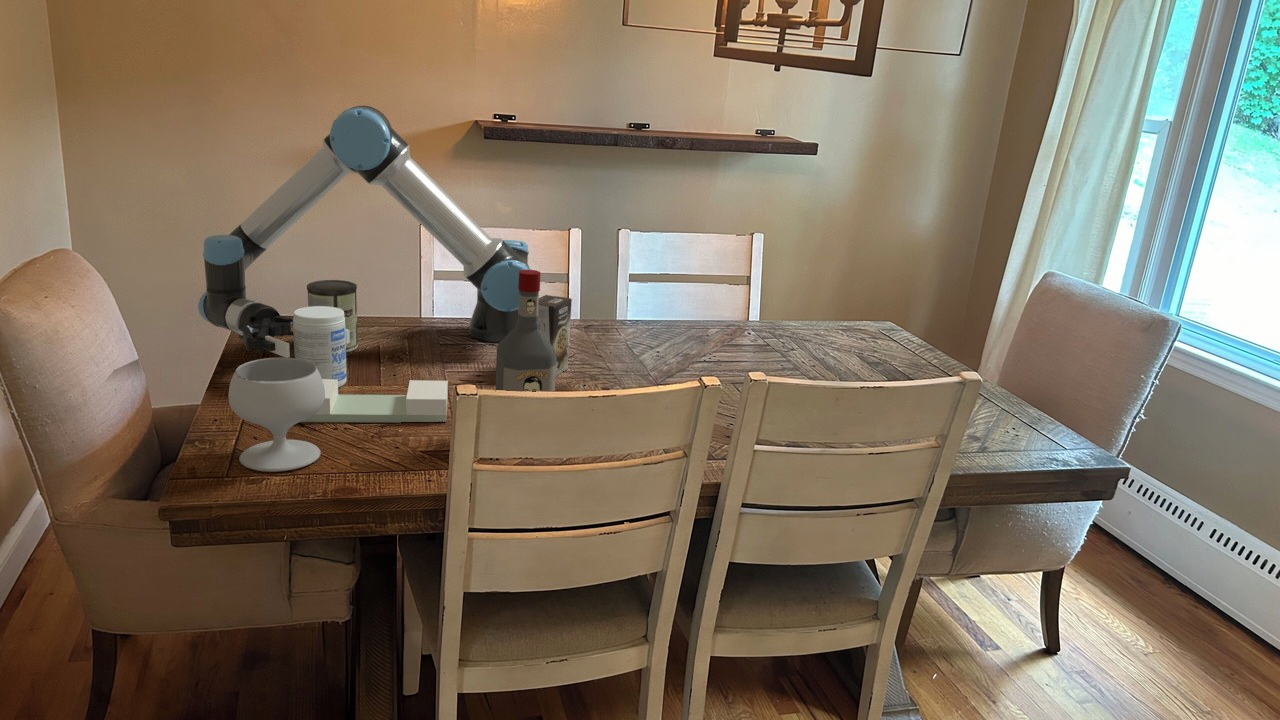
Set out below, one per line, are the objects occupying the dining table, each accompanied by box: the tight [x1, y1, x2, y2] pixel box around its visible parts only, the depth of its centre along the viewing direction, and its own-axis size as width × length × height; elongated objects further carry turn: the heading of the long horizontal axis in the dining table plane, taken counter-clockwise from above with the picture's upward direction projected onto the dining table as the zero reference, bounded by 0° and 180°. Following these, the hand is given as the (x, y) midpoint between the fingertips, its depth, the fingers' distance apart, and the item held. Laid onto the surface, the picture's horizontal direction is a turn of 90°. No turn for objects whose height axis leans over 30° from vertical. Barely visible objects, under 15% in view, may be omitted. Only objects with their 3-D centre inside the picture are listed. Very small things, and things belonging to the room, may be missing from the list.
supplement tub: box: [292, 306, 348, 388], centre depth 174 cm, size 10×10×15 cm
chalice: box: [227, 357, 325, 473], centre depth 141 cm, size 14×14×15 cm
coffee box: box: [538, 294, 573, 377], centre depth 191 cm, size 9×6×16 cm
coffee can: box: [306, 279, 359, 353], centre depth 196 cm, size 10×10×14 cm
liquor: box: [495, 269, 557, 392], centre depth 154 cm, size 9×9×30 cm
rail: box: [300, 379, 449, 423], centre depth 163 cm, size 27×10×4 cm, turn 100°
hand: (319, 343), depth 173 cm, fingers open, 13 cm apart
